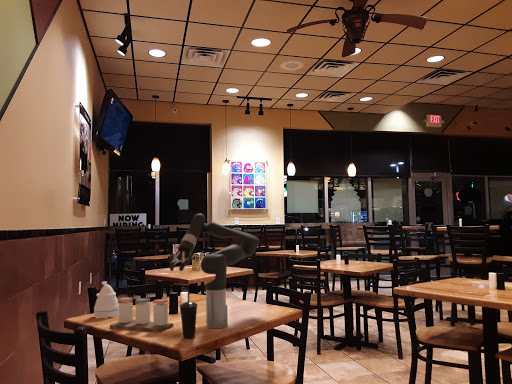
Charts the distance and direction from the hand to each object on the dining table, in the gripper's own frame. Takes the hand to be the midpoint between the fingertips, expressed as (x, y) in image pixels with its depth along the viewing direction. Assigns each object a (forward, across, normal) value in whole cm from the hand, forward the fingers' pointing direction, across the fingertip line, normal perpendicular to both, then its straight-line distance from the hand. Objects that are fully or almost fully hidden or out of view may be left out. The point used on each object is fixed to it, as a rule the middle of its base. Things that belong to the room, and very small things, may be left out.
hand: (175, 269), depth 206 cm
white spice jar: (+27, +19, -6) cm, 34 cm away
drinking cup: (+35, -22, -1) cm, 41 cm away
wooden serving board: (+29, +9, -7) cm, 31 cm away
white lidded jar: (+27, +9, -6) cm, 29 cm away
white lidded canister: (+27, -1, -6) cm, 27 cm away
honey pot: (+18, +44, -18) cm, 51 cm away
